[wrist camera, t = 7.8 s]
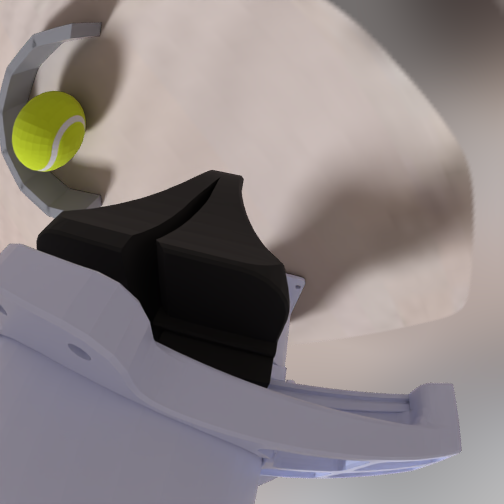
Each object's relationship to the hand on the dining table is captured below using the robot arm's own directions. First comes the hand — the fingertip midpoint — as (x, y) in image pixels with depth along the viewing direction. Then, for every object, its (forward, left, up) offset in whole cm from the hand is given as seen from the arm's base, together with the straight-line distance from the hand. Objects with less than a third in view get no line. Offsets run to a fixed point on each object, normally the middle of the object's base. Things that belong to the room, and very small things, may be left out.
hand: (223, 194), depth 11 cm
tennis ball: (-1, +16, -10) cm, 19 cm away
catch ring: (-1, +19, -9) cm, 21 cm away
